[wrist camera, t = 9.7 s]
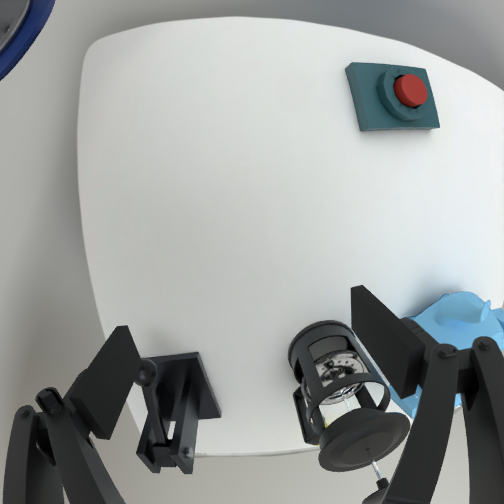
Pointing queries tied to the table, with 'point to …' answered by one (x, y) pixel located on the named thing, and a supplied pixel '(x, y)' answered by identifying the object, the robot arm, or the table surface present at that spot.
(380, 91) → the button box
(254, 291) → the table surface
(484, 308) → the teapot
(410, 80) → the stop button
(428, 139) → the table surface
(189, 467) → the ball knob lever stand
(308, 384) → the french press
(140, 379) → the switch lever
